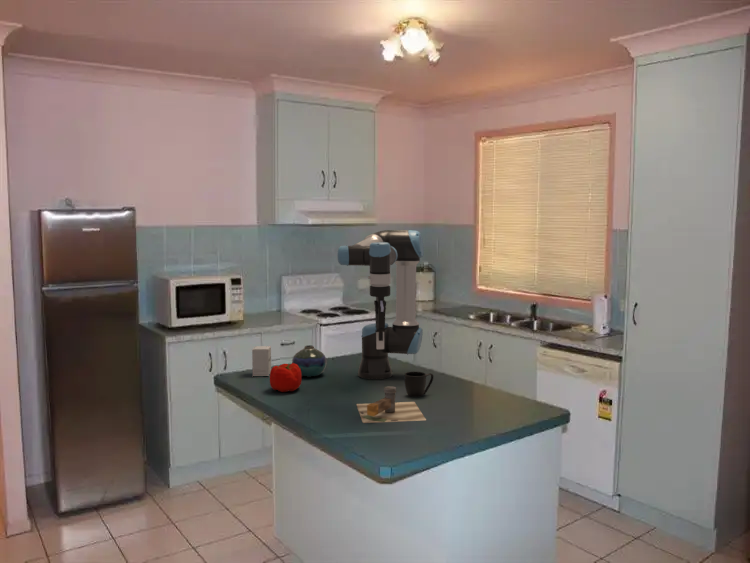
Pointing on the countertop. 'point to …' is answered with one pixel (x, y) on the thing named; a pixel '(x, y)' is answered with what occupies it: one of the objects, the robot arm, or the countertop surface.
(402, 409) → the dial board
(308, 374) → the vase
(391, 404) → the peg lever
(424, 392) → the mug
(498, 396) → the countertop surface
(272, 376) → the tomato
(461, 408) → the countertop surface
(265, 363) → the supplement box
